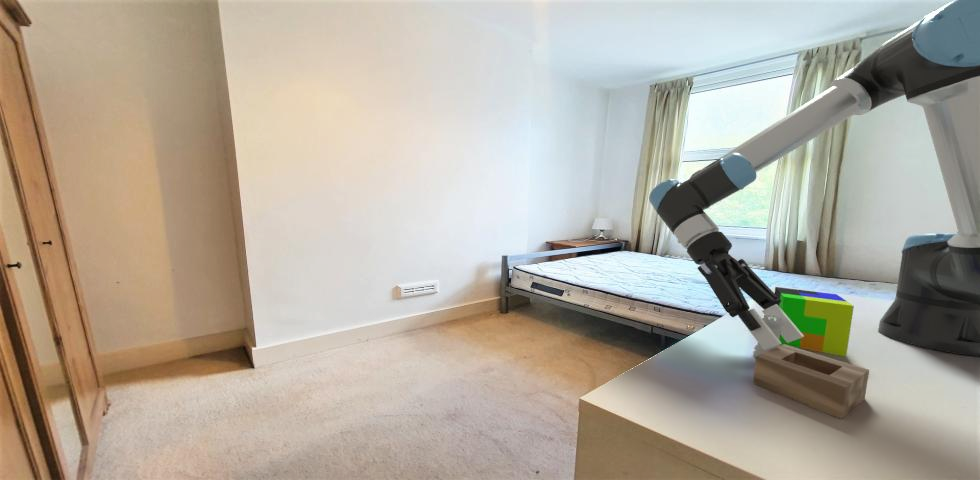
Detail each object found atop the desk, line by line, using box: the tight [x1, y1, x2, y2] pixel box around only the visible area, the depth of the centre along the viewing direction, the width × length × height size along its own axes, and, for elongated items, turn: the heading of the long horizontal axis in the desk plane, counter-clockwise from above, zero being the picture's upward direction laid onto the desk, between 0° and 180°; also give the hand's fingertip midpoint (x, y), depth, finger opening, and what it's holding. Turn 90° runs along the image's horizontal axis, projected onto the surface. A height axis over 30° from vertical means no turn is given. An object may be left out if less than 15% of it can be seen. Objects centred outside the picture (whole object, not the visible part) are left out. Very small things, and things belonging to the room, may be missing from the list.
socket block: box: [753, 344, 870, 420], centre depth 51 cm, size 10×10×4 cm
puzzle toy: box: [774, 286, 854, 357], centre depth 71 cm, size 10×10×10 cm
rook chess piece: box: [752, 314, 784, 358], centre depth 62 cm, size 4×4×8 cm
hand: (784, 343), depth 59 cm, fingers open, 8 cm apart
